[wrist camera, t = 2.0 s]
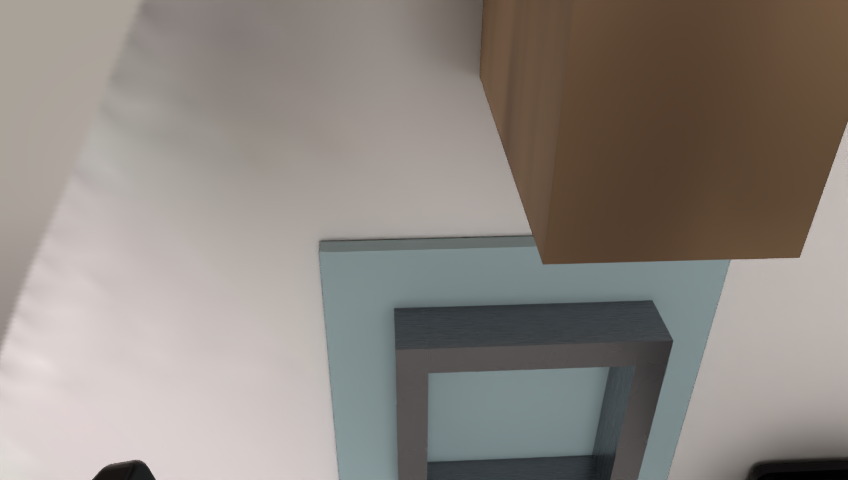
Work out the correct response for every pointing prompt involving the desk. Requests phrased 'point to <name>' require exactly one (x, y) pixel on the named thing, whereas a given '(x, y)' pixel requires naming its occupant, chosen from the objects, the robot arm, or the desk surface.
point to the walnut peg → (667, 122)
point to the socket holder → (509, 360)
